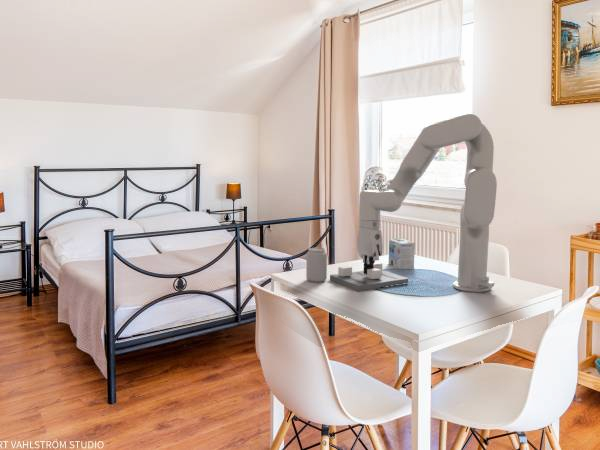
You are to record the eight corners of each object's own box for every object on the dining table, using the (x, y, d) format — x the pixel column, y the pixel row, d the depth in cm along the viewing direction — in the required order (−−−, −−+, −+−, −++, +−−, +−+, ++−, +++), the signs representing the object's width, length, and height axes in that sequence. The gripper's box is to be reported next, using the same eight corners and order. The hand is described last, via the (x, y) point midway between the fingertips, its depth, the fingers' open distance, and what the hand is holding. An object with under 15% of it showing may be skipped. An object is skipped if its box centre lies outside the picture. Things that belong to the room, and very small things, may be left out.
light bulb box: (387, 264, 222) (388, 239, 220) (402, 263, 224) (402, 238, 222) (399, 269, 212) (400, 243, 210) (414, 268, 214) (415, 242, 212)
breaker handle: (381, 277, 188) (381, 269, 187) (372, 279, 186) (372, 271, 186) (375, 276, 190) (376, 268, 190) (367, 277, 189) (367, 269, 188)
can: (315, 284, 188) (315, 251, 186) (302, 280, 194) (302, 248, 192) (330, 280, 193) (331, 249, 191) (317, 277, 198) (317, 246, 197)
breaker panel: (408, 283, 189) (408, 269, 188) (358, 291, 178) (358, 276, 177) (377, 273, 204) (377, 260, 204) (329, 280, 194) (330, 266, 193)
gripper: (390, 226, 184) (389, 277, 186) (365, 221, 197) (364, 268, 199) (373, 227, 180) (372, 279, 183) (349, 222, 193) (348, 270, 196)
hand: (368, 273), depth 191 cm, fingers closed
